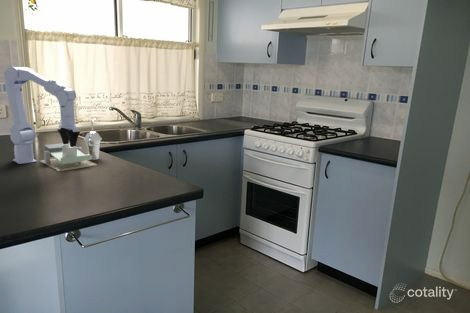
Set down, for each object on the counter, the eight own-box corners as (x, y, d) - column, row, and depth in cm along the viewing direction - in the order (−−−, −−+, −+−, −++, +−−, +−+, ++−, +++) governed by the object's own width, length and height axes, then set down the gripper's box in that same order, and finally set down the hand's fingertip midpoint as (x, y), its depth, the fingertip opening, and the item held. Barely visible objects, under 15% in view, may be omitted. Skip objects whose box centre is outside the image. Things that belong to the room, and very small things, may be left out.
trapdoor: (44, 153, 183) (44, 145, 182) (72, 150, 192) (72, 142, 191) (62, 167, 170) (61, 158, 169) (90, 163, 179) (90, 154, 178)
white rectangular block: (62, 157, 175) (62, 145, 174) (73, 155, 179) (72, 144, 177) (66, 159, 173) (66, 148, 171) (77, 158, 176) (76, 146, 175)
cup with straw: (81, 159, 191) (78, 119, 186) (95, 155, 199) (93, 117, 194) (93, 161, 187) (91, 120, 182) (107, 157, 195) (105, 118, 190)
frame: (40, 161, 183) (39, 149, 181) (76, 156, 195) (76, 145, 194) (58, 171, 168) (57, 158, 166) (96, 165, 180) (96, 152, 179)
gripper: (51, 114, 173) (54, 143, 177) (65, 118, 164) (67, 149, 167) (67, 113, 179) (69, 142, 182) (81, 116, 169) (83, 147, 172)
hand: (69, 145), depth 175 cm, fingers open, 7 cm apart
